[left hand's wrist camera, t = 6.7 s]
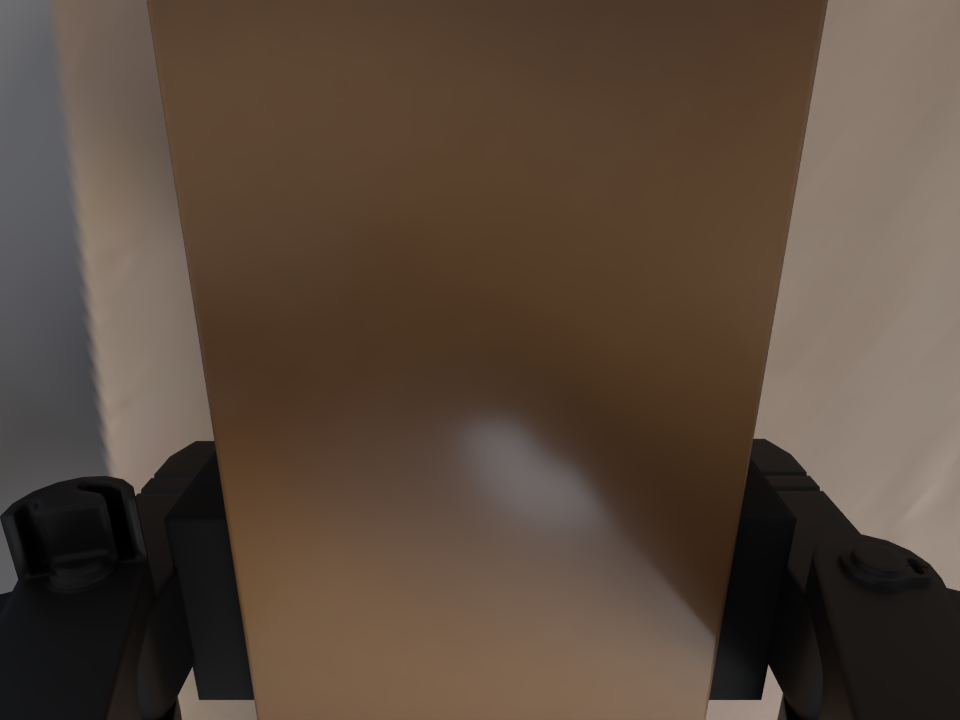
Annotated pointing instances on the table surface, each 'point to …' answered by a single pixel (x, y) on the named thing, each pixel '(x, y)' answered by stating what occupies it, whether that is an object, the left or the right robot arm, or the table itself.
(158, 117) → the table surface
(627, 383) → the post
